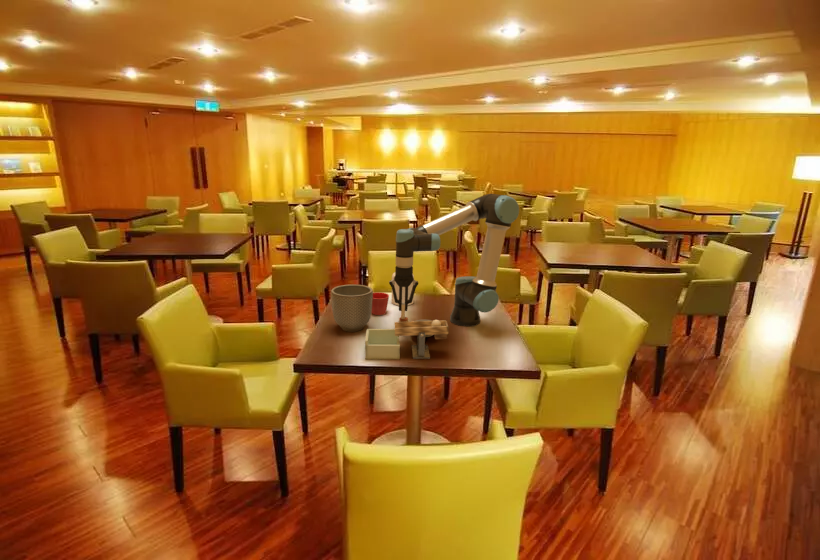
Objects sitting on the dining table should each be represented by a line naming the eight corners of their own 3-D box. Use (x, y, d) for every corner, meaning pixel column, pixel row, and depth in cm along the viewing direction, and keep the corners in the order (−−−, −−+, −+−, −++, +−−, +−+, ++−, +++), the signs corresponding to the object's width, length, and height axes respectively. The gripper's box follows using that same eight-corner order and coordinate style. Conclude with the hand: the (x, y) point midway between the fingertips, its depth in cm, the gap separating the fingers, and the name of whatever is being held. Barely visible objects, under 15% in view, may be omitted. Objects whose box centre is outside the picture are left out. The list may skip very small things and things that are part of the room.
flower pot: (392, 311, 240) (393, 294, 238) (380, 317, 231) (380, 299, 229) (376, 308, 246) (376, 291, 243) (364, 313, 237) (364, 296, 234)
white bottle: (389, 305, 250) (389, 270, 245) (393, 298, 262) (394, 265, 257) (411, 307, 248) (412, 271, 243) (415, 300, 260) (416, 266, 255)
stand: (427, 346, 197) (428, 322, 194) (430, 358, 185) (430, 333, 182) (411, 346, 197) (412, 322, 194) (412, 358, 185) (413, 333, 182)
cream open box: (399, 346, 197) (399, 329, 195) (399, 359, 184) (399, 341, 182) (366, 346, 196) (366, 329, 194) (365, 359, 184) (365, 340, 182)
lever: (443, 323, 204) (443, 311, 202) (448, 339, 186) (448, 326, 184) (394, 325, 203) (394, 313, 201) (395, 341, 185) (394, 328, 184)
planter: (336, 320, 226) (335, 283, 221) (375, 321, 226) (375, 284, 221) (327, 335, 207) (326, 295, 202) (370, 336, 207) (370, 296, 202)
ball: (439, 327, 191) (441, 319, 190) (440, 331, 187) (442, 322, 186) (429, 325, 190) (432, 317, 189) (430, 329, 186) (433, 320, 185)
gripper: (418, 264, 197) (417, 315, 203) (389, 263, 196) (388, 314, 203) (419, 268, 190) (418, 320, 196) (388, 267, 189) (388, 320, 195)
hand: (402, 317), depth 199 cm, fingers closed
